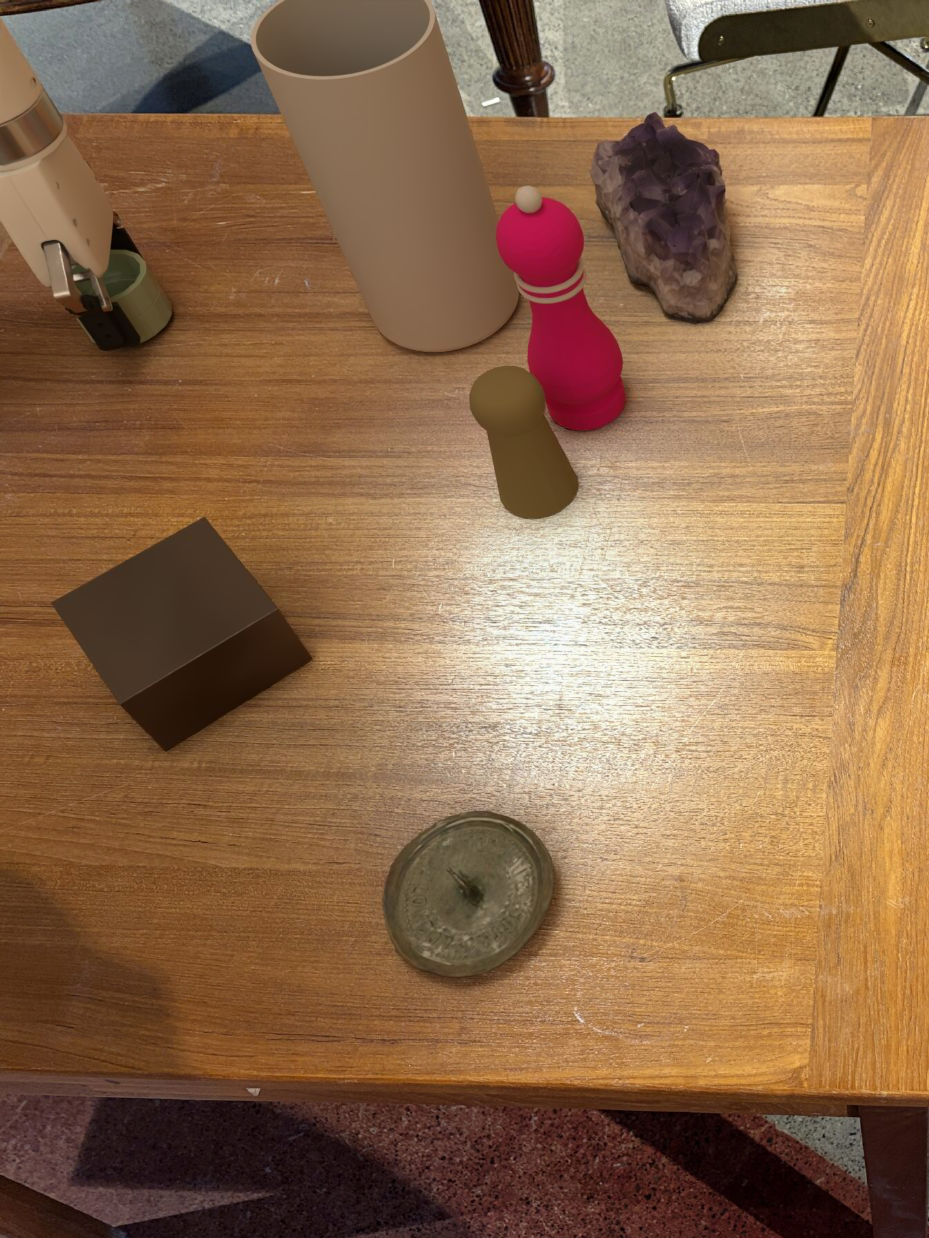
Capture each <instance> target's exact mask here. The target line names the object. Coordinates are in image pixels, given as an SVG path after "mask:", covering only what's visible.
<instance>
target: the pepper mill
mask: <svg viewBox="0 0 929 1238" xmlns="http://www.w3.org/2000/svg"><path fill="white" fill-rule="evenodd" d="M514 201H515V202H514V203H513V204H511V205H509V206H508V207H507V208H506V209H505V210H504V211H503V212H502V214H501V216H500V217H499V222H498V224H497V229H496V242H497V248H498V252H499V254H500V256H501V258H502V260H503V261H504V263H505V264H506V265H507V266H508V268H509V269H511V270H512V271H513V272H514V278H515V280H516V282H517V288H518V290H519V294H520V295H521V296H522V297H523V298H525V299H526V300H528V303H529V307H530V312H531V327H530V333H529V338H528V343H527V354H526V355H527V362H526V363H527V366H528V372H530V373H531V374H533V375H534V376H535V377H536V379H537V380H538V381H539V383H540V384H541V386H542V387H543V391H544V394H545V401H546V403H545V405H546V407H547V410H548V413H549V416H550V417H551V419H552V420H553V421H554V422H555V423H556V424H558V425H559V426H560V427H563V428H565V429H568V430H572V431H581V432H582V431H583V432H585V431H591V430H596V429H599V428H602V427H604V426H606V425H608V424H610V423H612V422H613V421H614V420H616V419H617V418H618V417H619V416H620V415H621V413H622V412H623V410H624V409H625V406H626V403H627V394H626V391H625V387H624V383H623V379H622V376H621V375H622V372H623V367H624V358H623V357H624V356H623V353H622V351H621V347H620V344H619V342H618V340H617V338H616V337H615V335H614V334H613V332H612V331H611V329H610V328H609V327H608V325H606V324H605V323H604V322H603V320H602V319H600V317H598V316H597V315H596V314H595V313H594V311H593V309H592V308H591V307H590V304H589V303H588V300H587V297H586V294H585V289H584V286H585V284H586V281H587V271H586V269H585V266H584V265H585V264H584V260H583V258H582V254H583V252H584V247H585V236H584V232H583V229H582V226H581V224H580V222H579V220H578V218H577V216H576V215H575V213H574V212H573V211H572V210H571V209H570V208H569V207H567V205H565V204H564V203H563V202H560V201H558V200H557V199H554V198H551V197H548V196H547V197H546V196H542V194H541V192H540V191H539V190H538V189H537V188H536V187H534V186H531V185H524V186H521V187H520V188H518V189H517V191H516V193H515V195H514Z"/></svg>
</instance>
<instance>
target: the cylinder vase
mask: <svg viewBox="0 0 929 1238" xmlns="http://www.w3.org/2000/svg"><path fill="white" fill-rule="evenodd" d="M250 46H251V49H252V53H253V54H254V56H255V59H256V61H257V63H258V66H259V69H260V70H261V72H262V74H263V76H264V79H265V81H266V83H267V85H268V86H267V87H268V88H269V90H270V93H271V95H272V98H273V99H274V101H275V104H276V106H277V108H278V110H279V113H280V115H281V117H282V120H283V122H284V125H285V126H286V128H287V131H288V133H289V135H290V139H291V140H292V142H293V145H294V147H295V148H296V151H297V153H298V155H299V158H300V160H301V162H302V164H303V167H304V169H305V171H306V174H307V176H308V178H309V180H310V183H311V185H312V187H313V189H314V192H315V194H316V196H317V198H318V201H319V203H320V206H321V208H322V209H323V212H324V214H325V217H326V218H327V220H328V223H329V225H330V228H331V230H332V232H333V234H334V237H335V240H336V241H337V243H338V245H339V248H340V250H341V253H342V254H343V257H344V259H345V262H346V263H347V264H346V265H347V266H348V269H349V270H350V273H351V276H352V278H353V280H354V282H355V285H356V286H357V289H358V291H359V293H360V295H361V297H362V300H363V302H364V305H365V306H366V309H367V311H368V314H369V316H370V318H371V320H372V322H373V325H374V326H375V327H376V329H377V330H378V331H379V332H380V333H381V334H382V336H384V337H385V338H386V339H387V340H389V342H392V343H393V344H395V345H398V346H400V347H402V348H405V349H408V350H412V351H417V352H421V353H422V352H424V353H444V352H451V351H456V350H457V351H458V350H461V349H464V348H468V347H470V346H473V345H475V344H478V343H480V342H482V341H484V340H485V339H487V338H489V337H491V336H492V335H493V334H496V333H497V331H499V330H500V329H501V328H502V327H503V326H505V324H506V323H507V322H508V321H509V320H510V318H511V317H512V315H513V313H514V312H515V310H516V308H517V305H518V301H519V297H520V292H519V290H518V288H517V282H516V280H515V278H514V272H513V271H512V270H511V269H509V268H508V266H507V265H506V264H505V263H504V261H503V260H502V258H501V256H500V254H499V252H498V248H497V242H496V229H497V224H498V222H499V219H500V217H499V216H498V212H497V208H496V206H495V202H494V200H493V199H494V198H493V196H492V192H491V190H490V185H489V183H488V180H487V176H486V174H485V170H484V167H483V163H482V160H481V157H480V154H479V151H478V148H477V144H476V140H475V138H474V134H473V131H472V128H471V125H470V122H469V118H468V115H467V112H466V109H465V106H464V101H463V98H462V95H461V92H460V88H459V86H458V85H459V84H458V82H457V79H456V76H455V73H454V70H453V66H452V63H451V60H450V56H449V53H448V50H447V47H446V44H445V41H444V37H443V33H442V30H441V27H440V24H439V21H438V17H437V14H436V11H435V8H434V5H433V3H432V2H431V0H278V1H276V2H275V3H272V4H271V5H270V6H269V7H268V8H267V9H266V10H265V11H264V12H263V13H262V14H261V15H260V16H259V17H258V19H257V21H255V23H254V26H253V27H252V30H251V32H250Z"/></svg>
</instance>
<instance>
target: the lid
mask: <svg viewBox="0 0 929 1238" xmlns="http://www.w3.org/2000/svg"><path fill="white" fill-rule="evenodd" d="M554 889H555V869H553V859H552V857H551V854H550V851H549V850H548V848H547V846H546V845H545V843H544V841H542V839H541V838H540V837H539V836H538V835H537V834H536V832H534V831H533V829H531V828H530V827H528V826H527V825H526V824H524V823H523V822H521V821H519V820H517V819H515V818H513V817H511V816H509V815H504V814H502V813H497V812H493V811H489V810H470V811H467V812H463V813H457V814H454V815H450V816H448V817H445V818H443V819H440V820H438V821H436V822H434V823H433V824H432V825H431V826H428V827H427V828H425V829H424V830H423V831H421V832H420V833H418V834H417V835H416V837H414V838H413V839H412V840H411V841H410V842H408V843H407V844H406V845H404V847H403V848H402V849H401V851H400V852H399V853H398V855H396V857H395V858H394V860H393V861H392V863H391V865H390V868H389V871H388V874H387V876H386V877H385V882H384V886H383V892H382V898H381V902H382V910H383V919H384V925H385V928H386V931H387V933H388V936H389V940H390V942H391V944H392V946H393V947H394V950H395V952H396V954H397V955H398V956H399V957H401V958H402V959H403V960H404V961H405V962H406V963H407V964H409V965H410V966H411V967H412V968H413V969H416V970H419V971H420V972H423V973H428V974H432V975H435V976H437V977H441V978H446V979H464V978H471V977H476V976H480V975H483V974H487V973H490V972H492V971H494V970H495V969H497V968H500V967H502V965H504V963H506V962H507V961H509V960H510V959H512V958H514V957H515V956H516V955H517V954H519V952H520V951H521V950H522V949H523V948H524V947H525V946H526V945H527V944H528V943H529V942H530V941H531V940H532V938H533V937H534V936H535V935H536V932H537V931H538V929H539V928H540V926H541V925H542V923H543V922H544V920H545V917H546V915H547V913H548V911H549V908H550V905H551V903H552V899H553V893H554Z"/></svg>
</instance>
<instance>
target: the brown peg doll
mask: <svg viewBox="0 0 929 1238" xmlns="http://www.w3.org/2000/svg"><path fill="white" fill-rule="evenodd" d="M468 400H469V409H470V412H471V414H472V416H473V418H474V420H475V421H476V422H477V424H478V425H479V426H480V427H481V428H482V429H484V430H485V431H486V435H487V440H488V446H489V451H490V454H491V460H492V464H493V470H494V475H495V481H496V485H497V490H498V496H499V500H500V503H501V504H502V506H503V508H504V509H505V510H506V511H507V512H509V513H510V514H512V515H513V516H516V517H519V518H522V519H531V520H532V519H533V520H535V519H536V520H539V519H542V518H547V517H550V516H553V515H555V514H557V513H560V512H561V511H563V510H564V509H566V508H567V507H568V506H569V505H571V503H572V502H573V500H574V499H575V497H576V496H577V494H578V491H579V486H580V484H579V478H578V475H577V474H576V472H575V469H574V468H573V466H572V464H571V462H570V460H569V458H568V457H567V455H566V453H565V451H564V449H563V447H562V446H561V443H560V441H559V440H558V437H557V435H556V434H555V432H554V430H553V428H552V426H551V424H550V423H549V421H548V419H547V417H546V415H545V410H546V401H545V394H544V391H543V387H542V386H541V384H540V383H539V381H538V380H537V379H536V377H535V376H534V375H533V374H531V373H530V372H529V370H527V369H525V368H523V367H521V366H520V367H519V366H517V365H500V366H496V367H492V368H491V369H488V370H486V371H485V372H483V373H482V374H480V375H479V376H478V377H476V379H475V380H474V381H473V384H472V386H471V389H470V391H469V394H468Z"/></svg>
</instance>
